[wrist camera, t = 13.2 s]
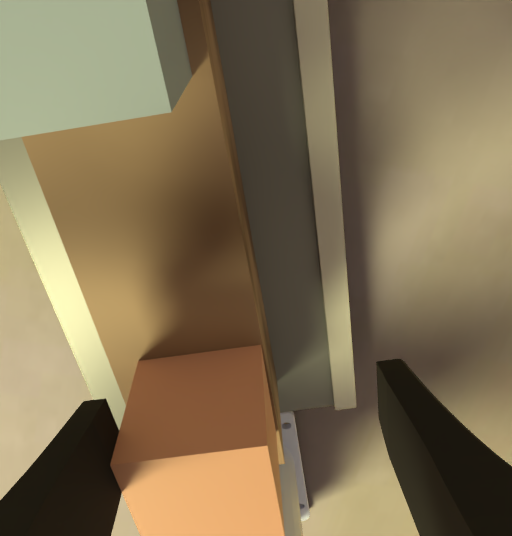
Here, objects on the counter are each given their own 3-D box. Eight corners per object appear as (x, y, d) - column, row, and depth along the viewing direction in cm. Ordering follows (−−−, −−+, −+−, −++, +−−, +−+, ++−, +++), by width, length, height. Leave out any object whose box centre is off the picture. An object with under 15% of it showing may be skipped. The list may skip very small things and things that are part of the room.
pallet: (277, 381, 22) (284, 464, 18) (169, 395, 23) (155, 480, 19) (175, -199, 13) (145, -285, 9) (-11, -162, 13) (-122, -230, 9)
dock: (345, 367, 25) (356, 407, 23) (119, 398, 26) (107, 440, 24) (291, -289, 14) (302, -349, 11) (-118, -204, 14) (-193, -244, 12)
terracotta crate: (276, 431, 18) (285, 540, 14) (166, 445, 18) (149, 556, 14) (261, 344, 16) (267, 445, 12) (138, 361, 16) (110, 465, 12)
